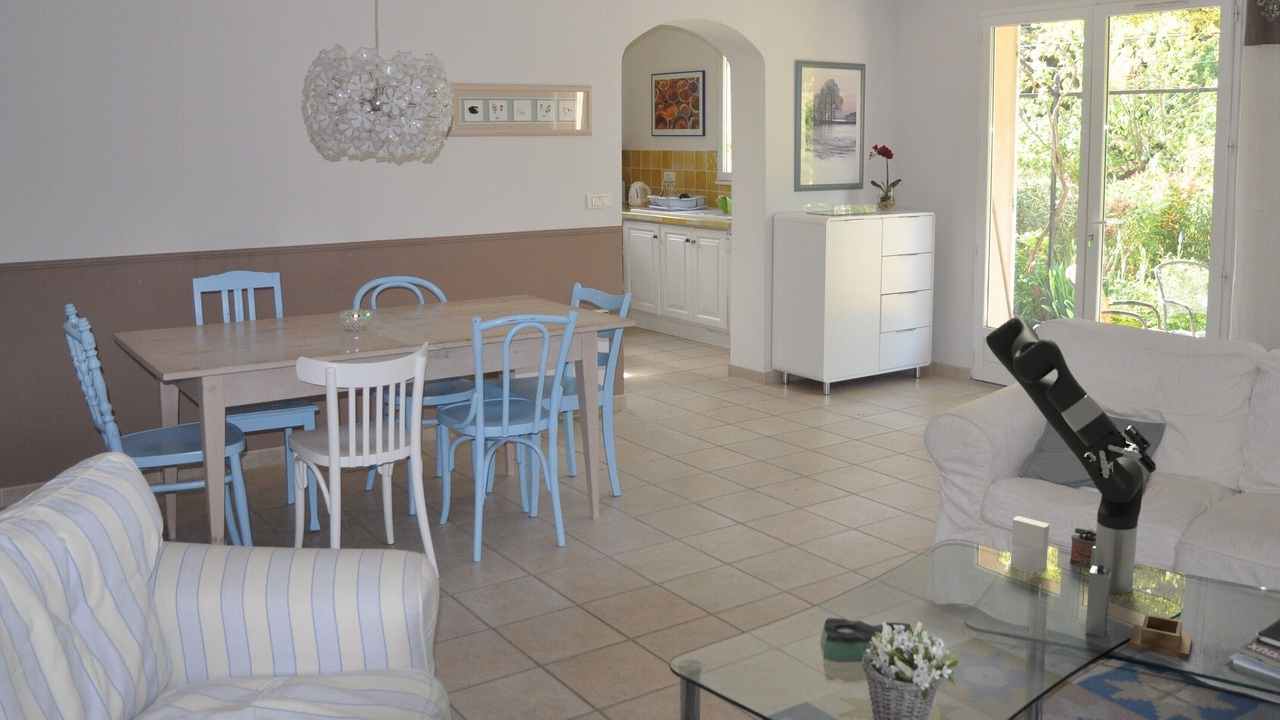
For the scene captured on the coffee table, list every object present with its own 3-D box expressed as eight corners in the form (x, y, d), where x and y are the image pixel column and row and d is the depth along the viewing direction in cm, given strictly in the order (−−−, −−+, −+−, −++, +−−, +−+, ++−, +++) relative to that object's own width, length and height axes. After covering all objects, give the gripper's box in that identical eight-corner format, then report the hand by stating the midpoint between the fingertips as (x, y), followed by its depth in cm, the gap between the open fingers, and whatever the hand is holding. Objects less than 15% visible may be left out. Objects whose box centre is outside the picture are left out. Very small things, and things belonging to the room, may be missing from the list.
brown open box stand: (1129, 646, 252) (1130, 628, 251) (1134, 629, 259) (1135, 610, 258) (1188, 658, 246) (1190, 639, 245) (1191, 640, 254) (1193, 621, 252)
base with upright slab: (1052, 562, 294) (1055, 520, 291) (1037, 574, 288) (1040, 531, 285) (1020, 553, 300) (1022, 512, 297) (1004, 565, 294) (1006, 522, 291)
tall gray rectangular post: (1085, 633, 258) (1090, 567, 254) (1088, 626, 262) (1092, 560, 257) (1103, 637, 256) (1108, 571, 252) (1106, 629, 260) (1111, 564, 255)
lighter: (1103, 565, 291) (1106, 530, 289) (1101, 570, 289) (1103, 534, 286) (1071, 559, 296) (1073, 524, 293) (1068, 564, 293) (1070, 529, 290)
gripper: (1119, 397, 242) (1170, 458, 238) (1072, 429, 252) (1120, 487, 249) (1104, 410, 237) (1157, 472, 234) (1057, 442, 248) (1106, 501, 244)
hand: (1138, 479), depth 241 cm, fingers open, 8 cm apart
